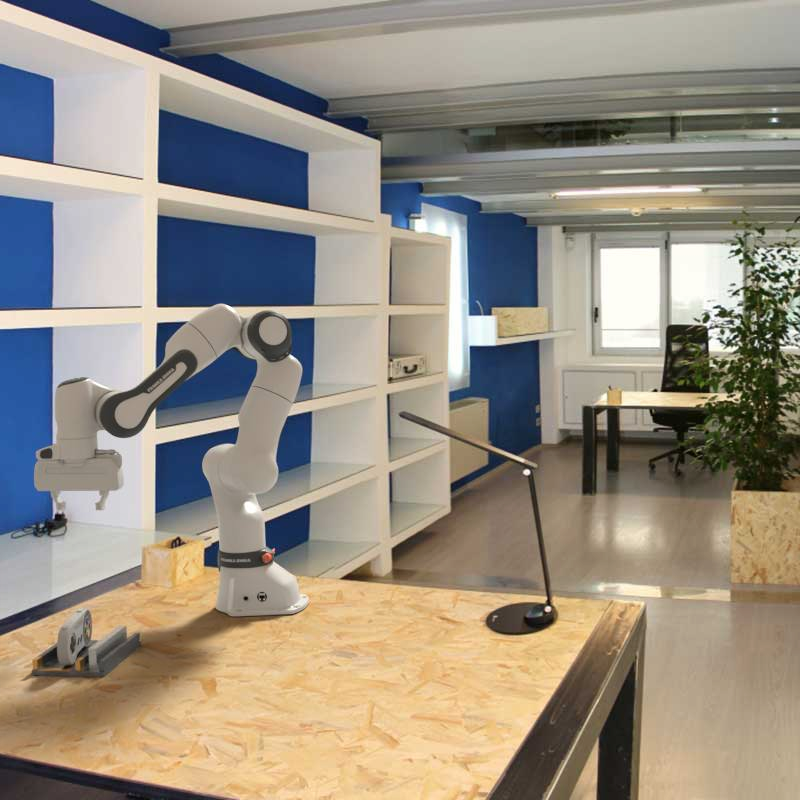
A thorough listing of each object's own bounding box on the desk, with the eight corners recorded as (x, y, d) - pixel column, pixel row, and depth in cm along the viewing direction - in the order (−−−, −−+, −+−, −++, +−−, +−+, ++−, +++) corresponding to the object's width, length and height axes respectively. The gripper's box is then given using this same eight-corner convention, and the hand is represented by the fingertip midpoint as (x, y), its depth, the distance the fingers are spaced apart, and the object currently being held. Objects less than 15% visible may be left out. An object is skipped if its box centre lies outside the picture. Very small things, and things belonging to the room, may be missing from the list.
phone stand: (141, 645, 220) (139, 622, 220) (103, 677, 201) (102, 652, 201) (75, 644, 222) (73, 621, 222) (32, 675, 203) (30, 650, 203)
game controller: (69, 670, 202) (67, 629, 201) (57, 671, 202) (55, 629, 201) (94, 640, 221) (92, 602, 221) (83, 640, 221) (81, 603, 221)
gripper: (126, 447, 233) (129, 507, 234) (42, 448, 236) (45, 507, 237) (115, 451, 227) (118, 512, 228) (28, 452, 230) (32, 512, 231)
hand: (80, 510), depth 232 cm, fingers open, 8 cm apart
